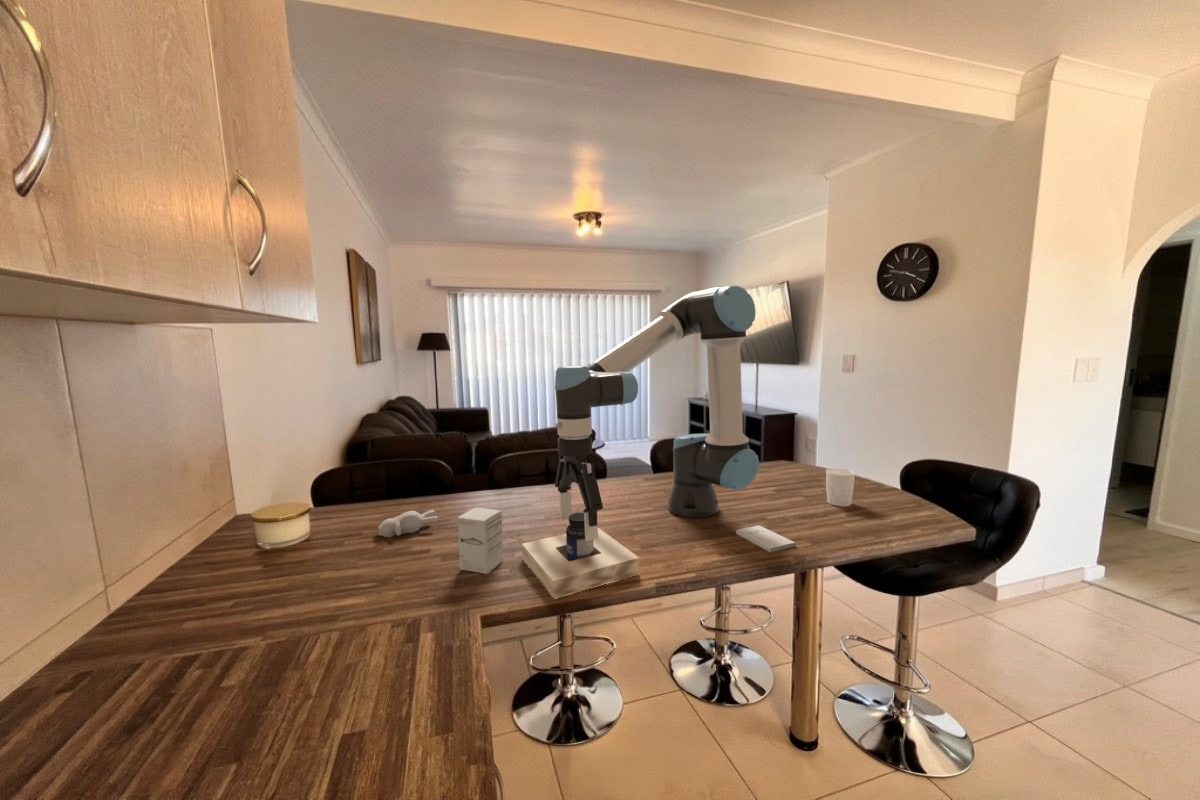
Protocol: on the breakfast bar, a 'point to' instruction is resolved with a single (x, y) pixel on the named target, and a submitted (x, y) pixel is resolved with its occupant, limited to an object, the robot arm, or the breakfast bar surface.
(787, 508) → the breakfast bar surface
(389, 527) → the bunny figurine
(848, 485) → the white cup
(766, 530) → the external hard drive
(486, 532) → the supplement box
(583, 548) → the pill bottle
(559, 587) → the socket block
